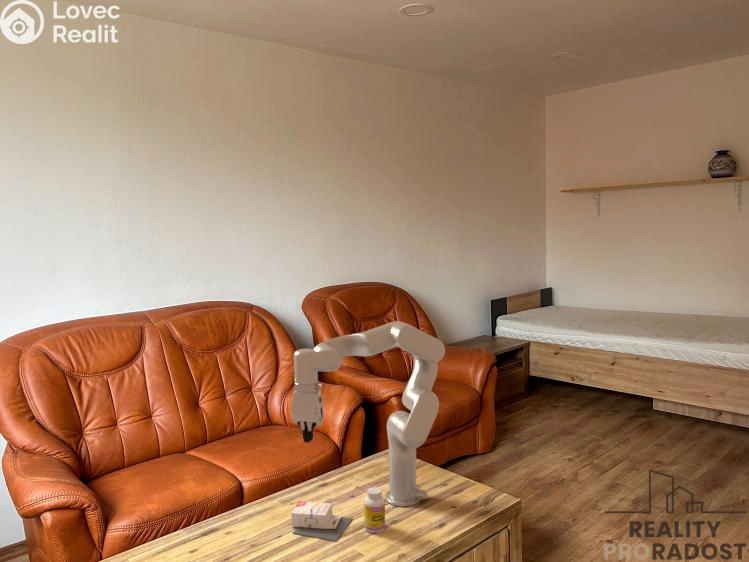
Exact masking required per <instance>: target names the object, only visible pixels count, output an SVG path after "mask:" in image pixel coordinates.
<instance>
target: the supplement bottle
mask: <svg viewBox="0 0 749 562" xmlns="http://www.w3.org/2000/svg"><path fill="white" fill-rule="evenodd" d="M366 494H367V496H366V497H365V499H364V501H363V502H364V507H363V508H364V510H363V511H364V513H363V514H364V530H365V531H367V532H368V533H371V534H378V533H381V532H383V531H384V530H385V528H386V499H385V498H384V496H383V490H382V489H381V488H380V487H378V486H377V487H376V486H375V487H370V488H368V489H367V490H366Z"/></svg>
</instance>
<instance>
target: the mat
mask: <svg viewBox="0 0 749 562" xmlns="http://www.w3.org/2000/svg"><path fill="white" fill-rule="evenodd" d="M332 517H341V518H340V520H339V522H338V524H337V526H336V528H335V529H319V528H307V527H296V528H295V530H293V532H292V534H293V535H297V534H298V536H305V537H308V538H309V537H310V538H313V539H319V540H325V541H331V542H334V543H335V542H337V541H338V540H339V538H340V537H341V536H340V535H342V534H343V533H344V532H345V530H346V529H347V528H348V526H349V525H350V523H351V522H352V521H351V520H353V518H352V517H345V516H340V515H334V514H332ZM334 523H336V522H335V521H334V522H333V524H332V525H334Z"/></svg>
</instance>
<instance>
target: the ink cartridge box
mask: <svg viewBox="0 0 749 562" xmlns="http://www.w3.org/2000/svg"><path fill="white" fill-rule="evenodd" d="M290 513H291V527H293V528H294V527H296V528H297V527H307V528H319V529H335V528H336V526H337V524H338V522H339V520H340V518H341V517H342V516H340V517H332V515H333V503H330V502H329V503H328V502H326V503H325V502H313V501H303V500H302V501H301V500H299V501H298V502H297V504H296V506H295V507H294V508H293V509H292V512H290ZM334 521H335V522H336V523H334V525H332V524H333V522H334Z"/></svg>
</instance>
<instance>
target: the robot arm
mask: <svg viewBox="0 0 749 562" xmlns="http://www.w3.org/2000/svg"><path fill="white" fill-rule="evenodd" d="M394 348H400V349H402V350H403V351H405V352H407V353H409V354H411V355H412V358H413V362H414V365H413V369H412V372H411V375H410V378H409V380H408V381H407V384H406V386H405V388H404V391H403V393H402V397H401V401H402V402H401V403H402V404H403V406H404V407H405V408H406V409H408V410H409V411H410V413H408V412H407V411H404V410H397V411H394V412H392V413H391V414H390V415H389V417H388V419H387V421H386V432H387V441H388V449H389V450H388V453H389V455H388V458H389V460H388V461H389V464H388V465H389V467H388V468H389V469H388V471H389V472H388V473H389V475H388V476H389V478H388V479H389V490H388V491H387V492H386V493H385V498H384V499H385V502H387V503H389V504H390V505H392V506H396V507H410V506H415V505H416V504H418V503H419V502H420V501H421V499H425V500H428V497H429V494H428V492H427V490H426V489H420V488H419V484H417V448H419V447H421V446H422V445H423V444H424V443H425V442H426V440H427V438H428V436H429V434H430V431H431V430H432V427H433V426H434V425H433V424H434V422H435V420H436V418H437V415H438V414H439V409H440V401H439V398H438V396H437V395H436V393H434V391H433V390H432V389H433V386H434V383H435V381H436V379H437V375H438V368H439V366H438V363H439V362H440V361H442V360H443V359H444V357H445V354H446V348H445V345H444V343H443V342H442V341H441V340H440V339H438V338H436V337H434V336H433V335H430V334H429V333H426V332H424V331H422V330H420V329H418V328H417V327H415V326H413V325H411V324H409V323H406V322H403V321H400V320H395V321H391V322H388V323H385V324H382V325H380V326H377V327H373V328H371V329H368V330H365V331H362V332H356V333H352V334H346V335H345V334H344V335H342V336H337V337H334V338H331V339H328V340H325V341H323V342H320V343H318V344H316V345H315V346H314V347H313V349H312V348H301V349H300V348H299V349H297V350H296V351H294V354H293V369H294V371H293V372H294V390H292V391H293V392H292V397H291V406H290V407H291V408H290V409H291V414H290V415H291V422H292V423H293V424H295V425H298V427H300V430H301V431H302V439H303V442H304V443H308V444H309V443H310V442H312V441H313V439H314V428H316V427H320V426H323V424H324V420H323V419H324V417H325V407H324V401H323V400H324V399H323V395H322V391H321V389H322V388H323V386H322V384H320V383H319V380H318V379H319V375H318V372H328V373H329V372H335V371H337V370H338V369H340V367H341V366H342V365H343V358H345V357H352V356H353V357H354V356H355V357H356V356H357V357H372V356H374V355H377V354H380V353H383V352H385V351H388V350H391V349H394Z"/></svg>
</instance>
